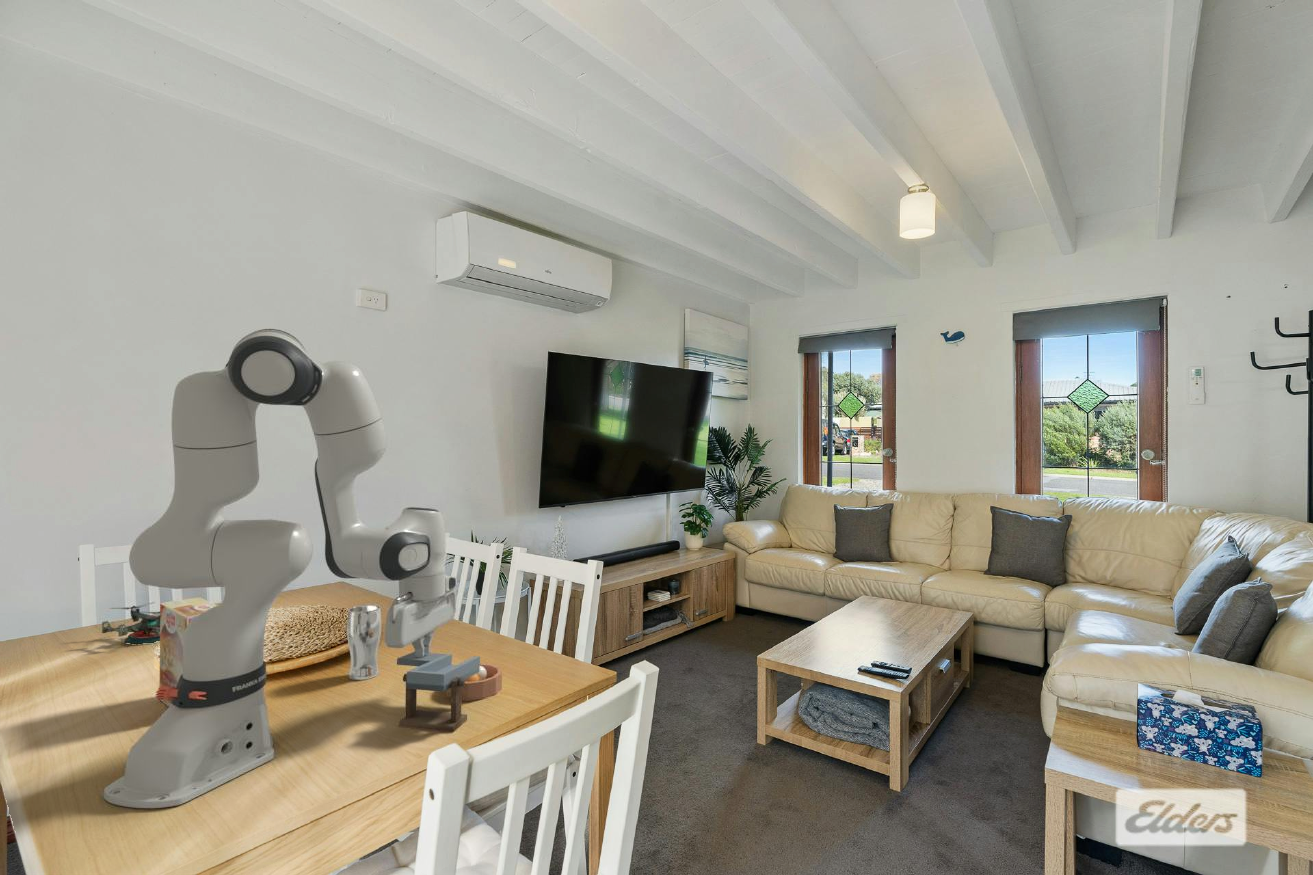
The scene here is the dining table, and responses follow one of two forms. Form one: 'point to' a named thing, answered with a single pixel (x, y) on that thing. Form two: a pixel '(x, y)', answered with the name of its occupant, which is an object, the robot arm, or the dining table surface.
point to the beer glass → (364, 640)
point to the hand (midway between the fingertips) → (422, 655)
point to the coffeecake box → (176, 637)
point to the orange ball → (472, 678)
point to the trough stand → (433, 718)
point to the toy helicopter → (138, 627)
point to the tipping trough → (436, 671)
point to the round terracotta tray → (482, 685)
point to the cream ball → (482, 673)
